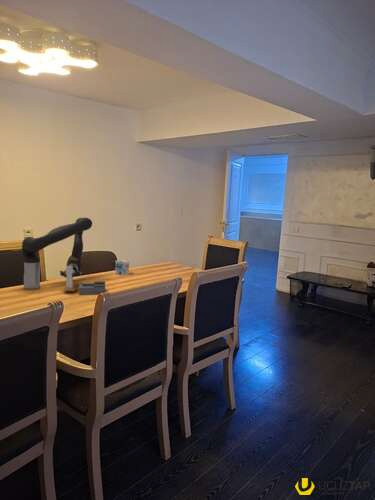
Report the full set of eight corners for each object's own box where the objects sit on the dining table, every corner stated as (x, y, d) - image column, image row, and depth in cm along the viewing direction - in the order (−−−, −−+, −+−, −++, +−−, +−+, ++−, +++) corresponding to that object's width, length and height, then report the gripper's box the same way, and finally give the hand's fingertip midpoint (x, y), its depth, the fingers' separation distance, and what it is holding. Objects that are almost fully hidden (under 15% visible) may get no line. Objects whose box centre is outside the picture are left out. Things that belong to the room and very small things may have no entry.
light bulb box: (115, 274, 275) (115, 261, 274) (115, 273, 282) (115, 260, 280) (129, 274, 278) (129, 261, 276) (128, 272, 284) (128, 260, 283)
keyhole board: (78, 294, 216) (78, 286, 216) (80, 289, 228) (80, 281, 227) (105, 294, 220) (105, 285, 219) (105, 289, 232) (105, 281, 231)
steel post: (64, 290, 217) (64, 267, 215) (65, 288, 222) (65, 265, 220) (73, 290, 218) (74, 267, 216) (74, 288, 224) (75, 265, 222)
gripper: (60, 264, 231) (57, 270, 214) (82, 264, 234) (80, 270, 217) (60, 275, 232) (57, 281, 215) (82, 275, 235) (80, 281, 218)
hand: (69, 275), depth 216 cm, fingers closed on steel post, 3 cm apart
